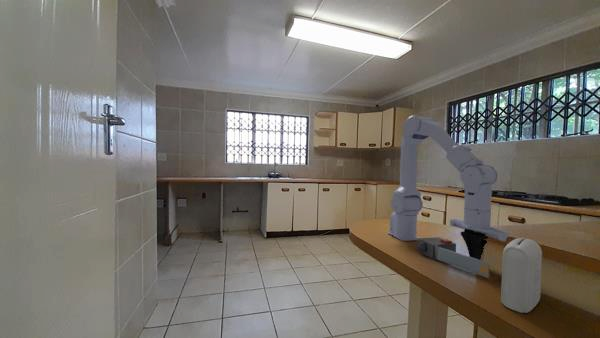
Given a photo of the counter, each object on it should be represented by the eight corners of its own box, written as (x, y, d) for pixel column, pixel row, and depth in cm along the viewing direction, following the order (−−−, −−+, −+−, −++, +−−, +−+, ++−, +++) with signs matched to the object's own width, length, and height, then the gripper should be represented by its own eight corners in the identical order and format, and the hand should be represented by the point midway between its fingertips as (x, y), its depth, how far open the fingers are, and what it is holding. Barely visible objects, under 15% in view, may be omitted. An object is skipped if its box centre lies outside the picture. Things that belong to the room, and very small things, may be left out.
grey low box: (414, 251, 70) (414, 236, 70) (438, 249, 72) (439, 235, 72) (429, 259, 64) (430, 243, 64) (455, 257, 66) (456, 241, 66)
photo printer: (514, 290, 49) (516, 232, 49) (543, 300, 45) (545, 238, 45) (497, 304, 43) (499, 239, 43) (528, 317, 40) (531, 246, 39)
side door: (435, 258, 64) (436, 245, 64) (489, 278, 53) (489, 262, 53) (434, 259, 64) (434, 245, 64) (487, 278, 53) (488, 262, 53)
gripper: (442, 204, 68) (440, 250, 68) (493, 215, 54) (491, 272, 54) (461, 204, 69) (459, 249, 69) (516, 214, 55) (514, 270, 55)
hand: (475, 259), depth 62 cm, fingers closed
